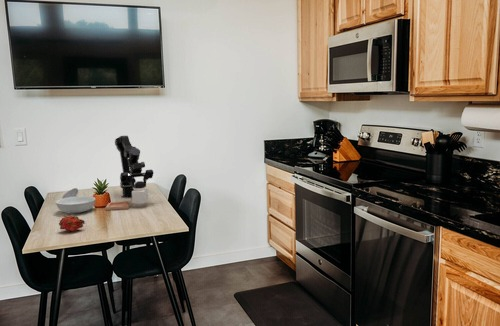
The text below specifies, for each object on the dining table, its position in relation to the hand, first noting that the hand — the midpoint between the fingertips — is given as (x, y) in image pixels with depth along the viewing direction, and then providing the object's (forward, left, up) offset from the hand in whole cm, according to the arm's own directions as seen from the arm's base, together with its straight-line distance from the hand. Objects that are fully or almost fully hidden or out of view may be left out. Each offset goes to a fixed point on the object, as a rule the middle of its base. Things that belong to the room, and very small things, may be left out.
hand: (140, 187), depth 247 cm
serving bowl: (-31, -18, -12) cm, 38 cm away
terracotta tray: (-13, -4, -12) cm, 18 cm away
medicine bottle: (-1, +1, -9) cm, 9 cm away
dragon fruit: (-5, -48, -12) cm, 50 cm away
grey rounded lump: (-52, -1, -12) cm, 54 cm away
